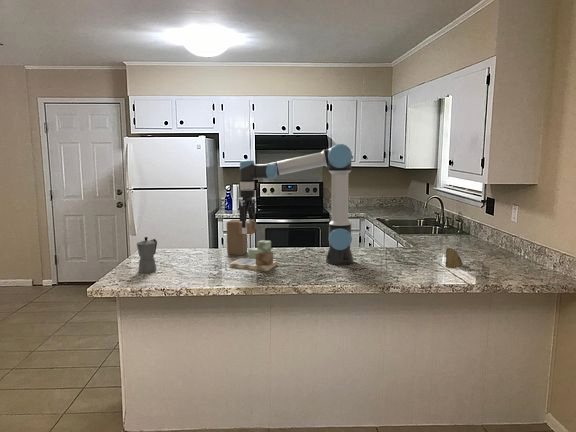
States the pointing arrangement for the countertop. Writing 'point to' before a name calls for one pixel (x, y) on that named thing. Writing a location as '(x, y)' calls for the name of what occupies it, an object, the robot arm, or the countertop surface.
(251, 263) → the blueprint board
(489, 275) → the countertop surface
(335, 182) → the robot arm
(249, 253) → the sage block
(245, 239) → the block
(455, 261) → the rock
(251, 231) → the walnut block
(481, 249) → the countertop surface
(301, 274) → the countertop surface
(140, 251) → the coffeepot
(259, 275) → the countertop surface
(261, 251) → the tower
